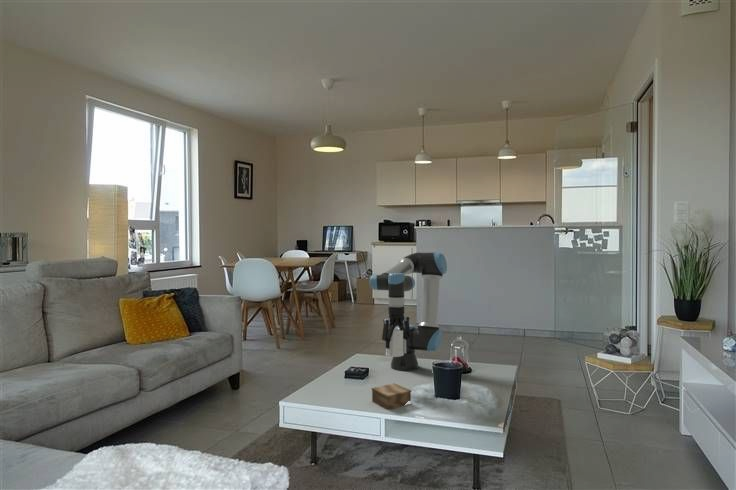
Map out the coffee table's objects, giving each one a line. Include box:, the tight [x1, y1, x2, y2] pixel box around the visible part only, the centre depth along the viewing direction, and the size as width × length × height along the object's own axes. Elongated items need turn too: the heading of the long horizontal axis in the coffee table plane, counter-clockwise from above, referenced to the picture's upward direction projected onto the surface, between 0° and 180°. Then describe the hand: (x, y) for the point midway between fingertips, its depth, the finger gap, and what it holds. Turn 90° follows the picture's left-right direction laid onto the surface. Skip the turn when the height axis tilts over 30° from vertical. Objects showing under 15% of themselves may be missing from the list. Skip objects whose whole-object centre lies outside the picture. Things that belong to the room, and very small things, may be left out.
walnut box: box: [371, 383, 412, 411], centre depth 210 cm, size 12×12×6 cm
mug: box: [385, 327, 404, 358], centre depth 227 cm, size 12×8×12 cm
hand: (396, 353), depth 228 cm, fingers closed on mug, 8 cm apart
